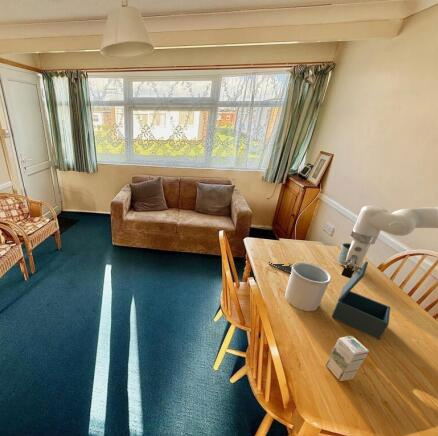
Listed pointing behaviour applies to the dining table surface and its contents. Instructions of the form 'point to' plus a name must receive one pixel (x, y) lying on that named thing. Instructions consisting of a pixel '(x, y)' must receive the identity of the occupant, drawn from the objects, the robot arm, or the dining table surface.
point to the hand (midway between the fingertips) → (347, 271)
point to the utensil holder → (306, 286)
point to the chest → (363, 314)
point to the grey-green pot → (344, 253)
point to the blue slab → (353, 280)
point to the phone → (284, 267)
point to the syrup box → (346, 358)
